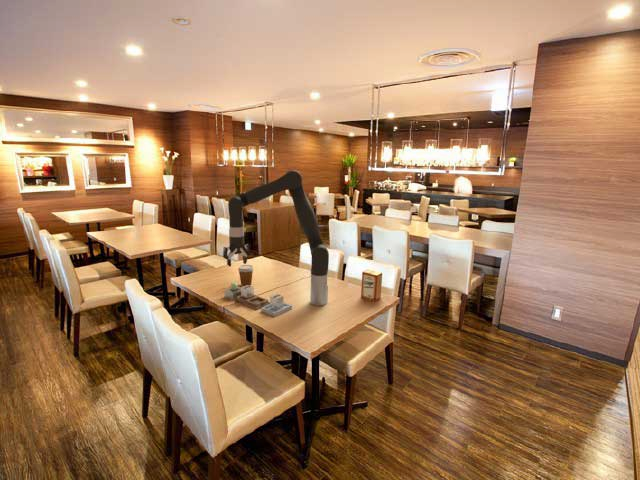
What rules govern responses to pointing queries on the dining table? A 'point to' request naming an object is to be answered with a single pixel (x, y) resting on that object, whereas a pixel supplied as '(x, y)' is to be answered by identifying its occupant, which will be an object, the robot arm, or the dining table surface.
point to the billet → (276, 302)
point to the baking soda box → (371, 284)
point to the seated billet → (247, 292)
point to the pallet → (253, 302)
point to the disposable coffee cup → (245, 274)
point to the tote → (271, 312)
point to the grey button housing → (232, 293)
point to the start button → (234, 286)
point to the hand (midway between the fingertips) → (237, 264)
